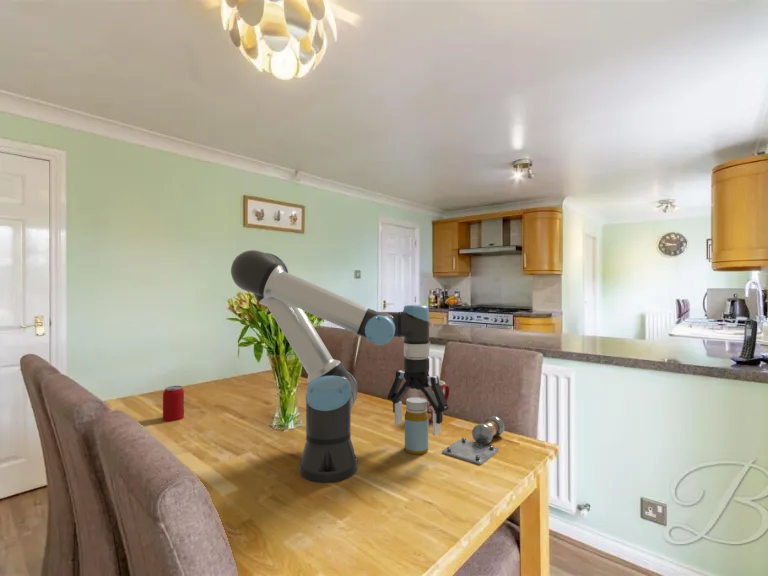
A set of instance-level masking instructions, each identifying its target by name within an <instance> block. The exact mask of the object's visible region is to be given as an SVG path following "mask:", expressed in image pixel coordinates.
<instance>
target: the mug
mask: <svg viewBox="0 0 768 576" xmlns="http://www.w3.org/2000/svg"><path fill="white" fill-rule="evenodd" d="M428 383H429V385H430V386H431V384H430V381H429V382H428ZM439 384H440V387H441V389H442V392H443V394H444V397H445V399H446V402H447V403H448V399H449V396H450V387H449V385H448V384H446V381H443V380H441V379H439ZM425 388H426V387H425ZM431 390H432V391H433V389H432V386H431ZM433 393H434V391H433ZM421 398H425V399H426V400H427V413H428V422H433V412H434V411H435V410H434V408H433V407H432V405H431V403H430V402H429V400H428V399H427V397H426V395H425V394H424V393H423V392H422V391H421ZM443 419H444V412H442V420H443Z"/></svg>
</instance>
